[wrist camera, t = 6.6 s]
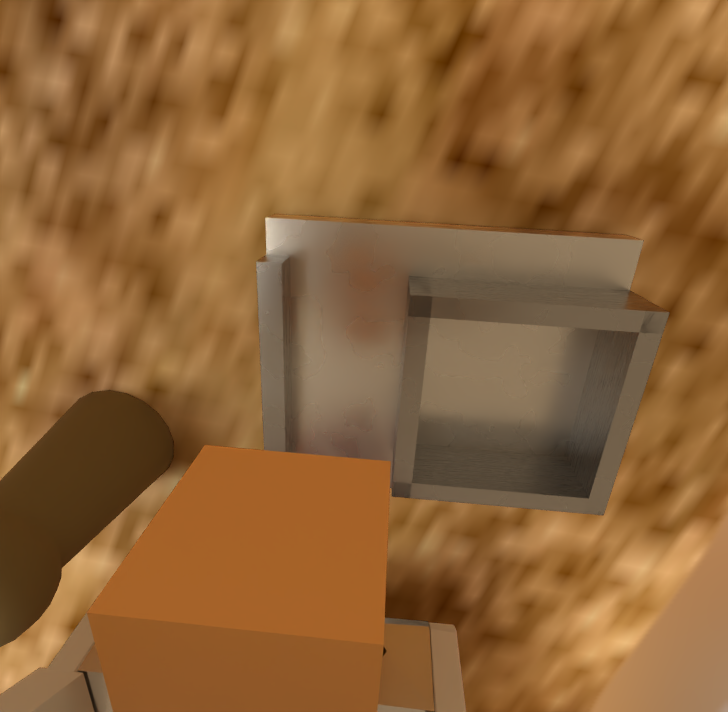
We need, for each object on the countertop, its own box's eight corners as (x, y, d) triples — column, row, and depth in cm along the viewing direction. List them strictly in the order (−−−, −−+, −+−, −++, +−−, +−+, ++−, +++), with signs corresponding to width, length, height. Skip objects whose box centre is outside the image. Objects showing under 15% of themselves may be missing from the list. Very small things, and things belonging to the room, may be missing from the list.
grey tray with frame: (281, 460, 25) (257, 519, 21) (274, 213, 20) (241, 227, 16) (559, 484, 24) (591, 550, 20) (626, 234, 19) (688, 254, 15)
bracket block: (224, 635, 12) (146, 839, 8) (204, 445, 10) (87, 612, 6) (373, 652, 12) (361, 868, 8) (391, 461, 10) (384, 644, 6)
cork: (44, 425, 25) (-193, 599, 15) (117, 370, 24) (-96, 525, 13) (123, 499, 27) (-43, 700, 17) (196, 453, 25) (60, 646, 15)
